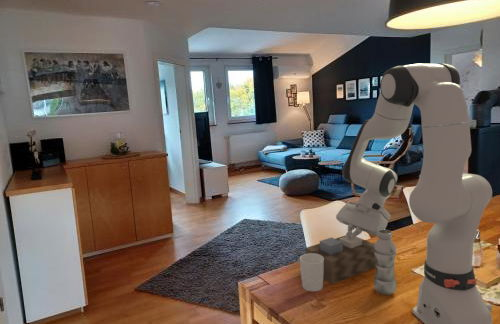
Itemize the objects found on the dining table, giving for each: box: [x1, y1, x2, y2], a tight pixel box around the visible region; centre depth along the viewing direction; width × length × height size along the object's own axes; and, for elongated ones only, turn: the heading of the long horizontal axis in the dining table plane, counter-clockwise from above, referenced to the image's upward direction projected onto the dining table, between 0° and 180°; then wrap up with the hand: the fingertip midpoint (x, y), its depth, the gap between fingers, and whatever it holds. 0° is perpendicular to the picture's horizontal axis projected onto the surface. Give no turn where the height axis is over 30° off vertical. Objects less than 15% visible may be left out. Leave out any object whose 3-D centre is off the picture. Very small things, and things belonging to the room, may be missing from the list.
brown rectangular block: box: [305, 234, 376, 285], centre depth 131 cm, size 22×14×8 cm, turn 120°
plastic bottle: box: [373, 229, 397, 296], centre depth 112 cm, size 6×7×20 cm
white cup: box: [299, 253, 324, 292], centre depth 119 cm, size 8×8×10 cm
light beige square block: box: [340, 236, 363, 249], centre depth 132 cm, size 6×6×4 cm
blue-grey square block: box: [319, 237, 343, 255], centre depth 128 cm, size 6×6×4 cm
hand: (349, 237), depth 132 cm, fingers closed, pressing on light beige square block
